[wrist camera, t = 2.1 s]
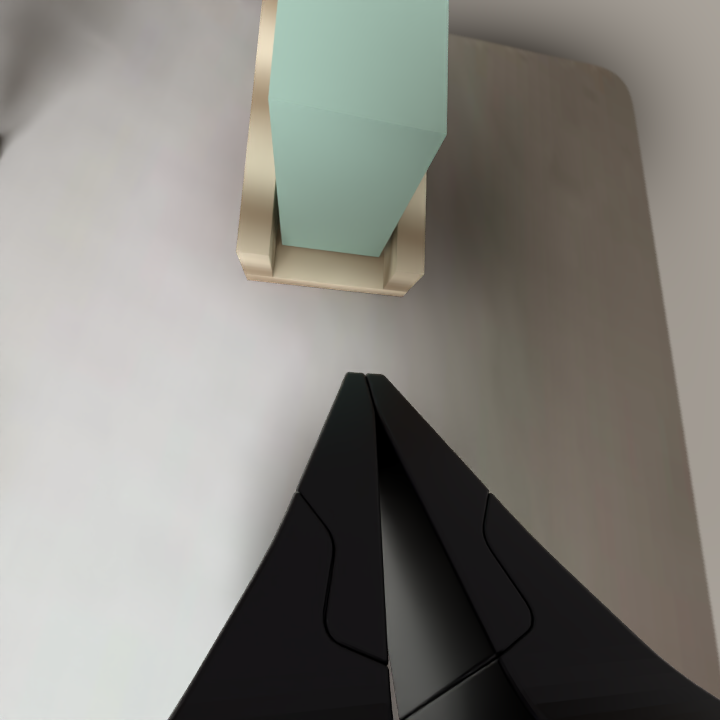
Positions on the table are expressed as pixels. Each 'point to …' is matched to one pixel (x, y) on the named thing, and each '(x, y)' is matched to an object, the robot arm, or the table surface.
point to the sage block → (354, 116)
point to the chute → (262, 220)
